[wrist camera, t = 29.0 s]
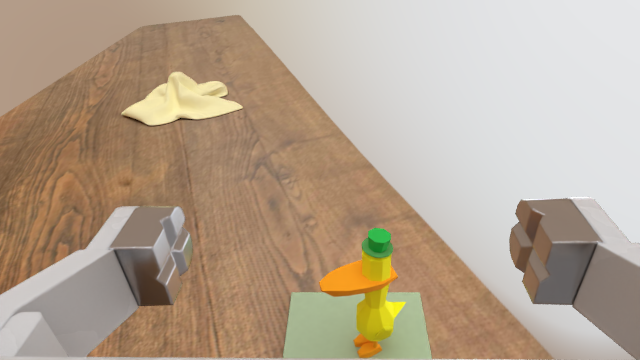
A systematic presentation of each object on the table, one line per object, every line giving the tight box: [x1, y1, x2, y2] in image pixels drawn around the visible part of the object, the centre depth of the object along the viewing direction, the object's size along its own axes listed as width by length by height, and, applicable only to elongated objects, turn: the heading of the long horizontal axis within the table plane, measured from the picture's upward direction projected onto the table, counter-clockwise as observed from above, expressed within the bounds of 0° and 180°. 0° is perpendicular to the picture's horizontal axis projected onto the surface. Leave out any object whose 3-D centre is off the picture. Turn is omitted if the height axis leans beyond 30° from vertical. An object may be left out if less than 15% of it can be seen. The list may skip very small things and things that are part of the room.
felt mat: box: [283, 292, 432, 359], centre depth 35 cm, size 12×12×1 cm
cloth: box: [122, 72, 243, 125], centre depth 80 cm, size 22×19×6 cm
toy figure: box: [319, 228, 406, 358], centre depth 32 cm, size 7×4×12 cm, turn 106°
